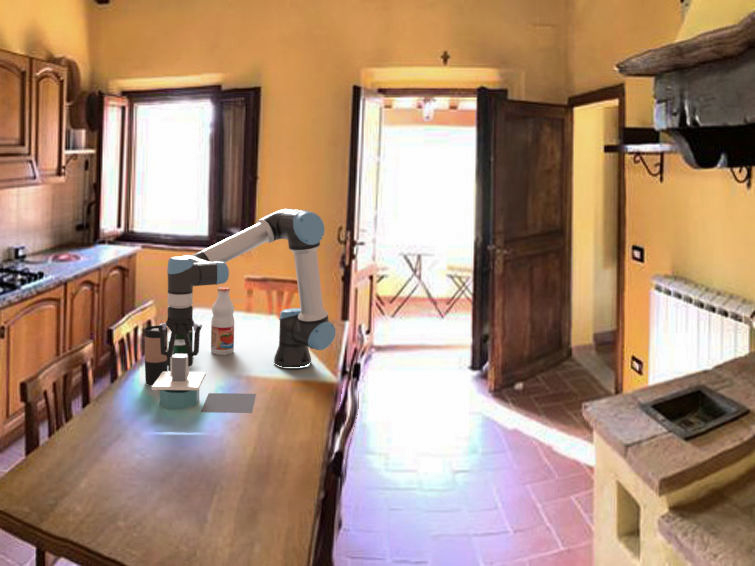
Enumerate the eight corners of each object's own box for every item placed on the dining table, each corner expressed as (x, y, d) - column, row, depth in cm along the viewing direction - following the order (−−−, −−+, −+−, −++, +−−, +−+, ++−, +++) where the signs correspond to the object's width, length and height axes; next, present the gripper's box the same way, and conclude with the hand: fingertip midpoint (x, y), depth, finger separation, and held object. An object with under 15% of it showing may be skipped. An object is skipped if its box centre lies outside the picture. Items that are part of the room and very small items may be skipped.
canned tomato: (183, 374, 212) (183, 346, 210) (164, 371, 213) (164, 343, 211) (193, 367, 219) (194, 340, 217) (175, 365, 221) (175, 338, 219)
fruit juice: (219, 347, 246) (220, 284, 241) (238, 351, 243) (239, 287, 238) (206, 353, 238) (207, 288, 233) (224, 356, 234) (226, 291, 229)
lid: (205, 375, 191) (205, 349, 190) (198, 390, 178) (198, 363, 176) (162, 374, 189) (162, 348, 188) (151, 389, 176) (151, 362, 174)
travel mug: (148, 378, 205) (148, 325, 202) (170, 378, 206) (170, 326, 202) (141, 385, 198) (141, 330, 194) (164, 386, 198) (164, 331, 195)
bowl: (201, 397, 191) (201, 380, 190) (194, 410, 180) (194, 393, 179) (165, 396, 190) (165, 379, 189) (156, 410, 178) (156, 392, 177)
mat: (256, 395, 196) (256, 393, 196) (251, 414, 180) (251, 412, 180) (208, 394, 194) (208, 393, 194) (200, 413, 178) (200, 412, 178)
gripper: (209, 303, 184) (208, 371, 188) (155, 301, 181) (155, 370, 186) (205, 309, 177) (204, 379, 181) (149, 307, 174) (149, 378, 178)
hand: (179, 375), depth 183 cm, fingers closed on lid, 4 cm apart
